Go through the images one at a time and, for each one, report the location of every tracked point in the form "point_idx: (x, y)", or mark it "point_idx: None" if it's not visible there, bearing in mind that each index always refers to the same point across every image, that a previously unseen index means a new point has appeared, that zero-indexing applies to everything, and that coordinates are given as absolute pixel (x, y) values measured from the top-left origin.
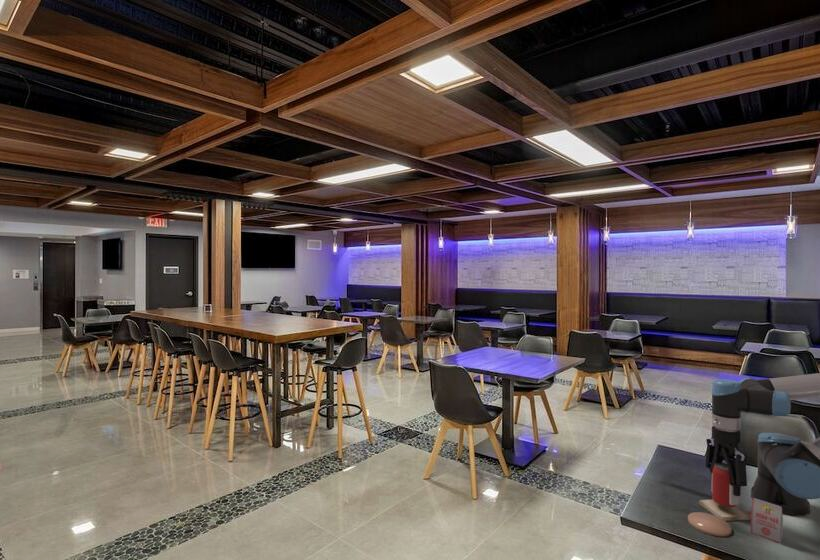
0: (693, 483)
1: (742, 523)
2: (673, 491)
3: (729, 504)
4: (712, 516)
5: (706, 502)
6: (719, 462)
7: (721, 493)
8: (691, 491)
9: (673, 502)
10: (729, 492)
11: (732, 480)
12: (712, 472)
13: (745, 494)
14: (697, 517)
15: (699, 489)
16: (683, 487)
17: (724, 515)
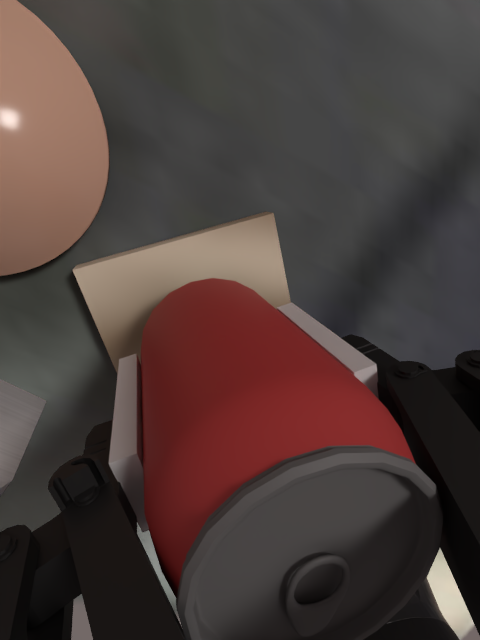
0: (471, 284)
1: (83, 364)
2: (398, 116)
3: (141, 354)
4: (69, 207)
5: (250, 249)
6: (447, 533)
7: (159, 336)
8: (397, 234)
9: (259, 29)
10: (134, 399)
11: (95, 517)
12: (320, 361)
13: None
14: (12, 75)
15: (416, 288)
16: (438, 208)
17: (100, 291)
